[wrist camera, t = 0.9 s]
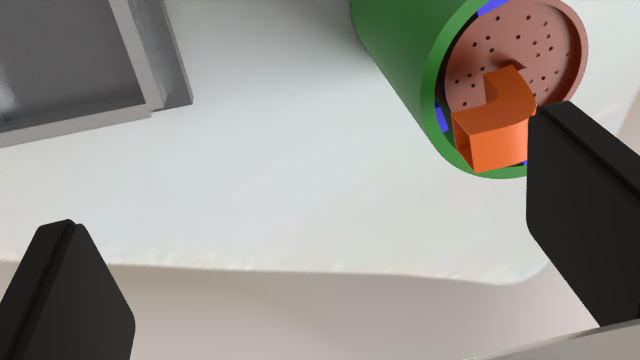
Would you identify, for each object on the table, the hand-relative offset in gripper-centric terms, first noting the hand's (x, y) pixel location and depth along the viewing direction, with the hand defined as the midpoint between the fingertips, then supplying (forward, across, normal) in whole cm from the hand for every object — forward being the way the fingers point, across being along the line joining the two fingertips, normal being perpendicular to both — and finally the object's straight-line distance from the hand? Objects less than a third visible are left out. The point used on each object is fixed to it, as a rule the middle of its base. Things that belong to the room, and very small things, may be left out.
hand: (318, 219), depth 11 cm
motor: (+28, -10, +5) cm, 30 cm away
